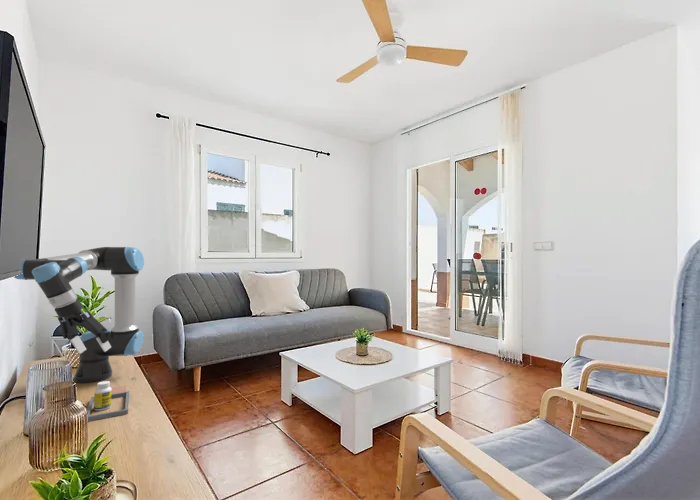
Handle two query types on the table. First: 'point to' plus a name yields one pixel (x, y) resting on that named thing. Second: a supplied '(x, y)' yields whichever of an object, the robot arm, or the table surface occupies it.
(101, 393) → the supplement bottle
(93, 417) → the rectangular frame
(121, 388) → the coaster
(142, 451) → the table surface
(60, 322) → the robot arm
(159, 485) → the table surface
